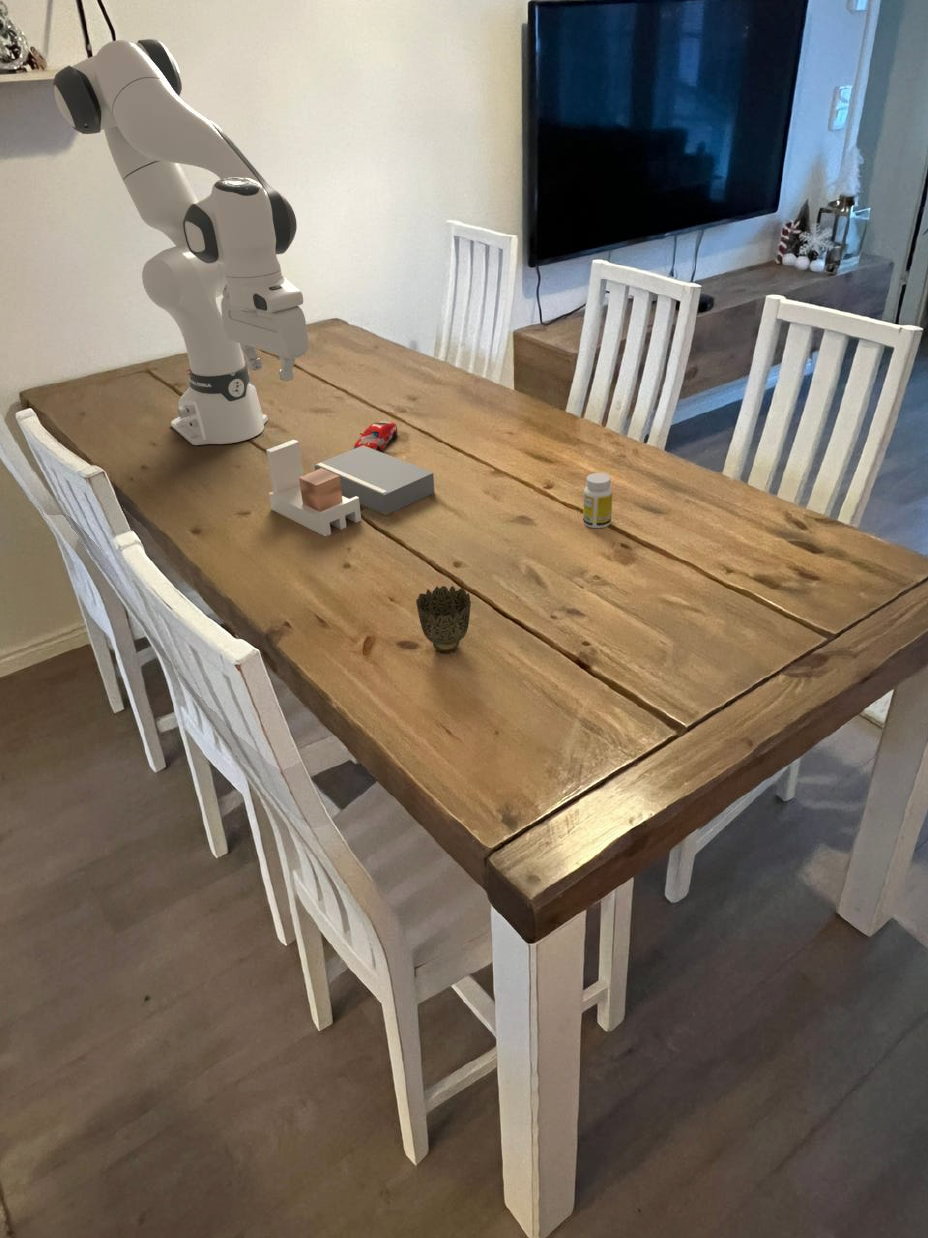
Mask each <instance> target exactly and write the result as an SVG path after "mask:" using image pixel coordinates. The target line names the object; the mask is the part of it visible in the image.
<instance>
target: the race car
mask: <svg viewBox="0 0 928 1238" xmlns="http://www.w3.org/2000/svg"><path fill="white" fill-rule="evenodd" d="M359 435H360V437H359V438H358V439H357V441H356V442H355V443H354V445H353V446H354V447H353V449H355V448H358V447H360V446H363V445H364V446H366V447H369V448H371V449H374V450H377V451H379V452H381V451H383V450H384V449H385V448H386V447H387V446H389V444H390V443H391V442H392V441H394V440H395V439H397V436H398V427H397V424H396V423H395V422H393V421H384V420H383V421H382V420H381V421H377V422H373V423H371V425H369V426H367V428H366V429H365V430H364V432H363V433H362V432H360V434H359Z"/></svg>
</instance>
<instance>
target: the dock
mask: <svg viewBox="0 0 928 1238" xmlns="http://www.w3.org/2000/svg"><path fill="white" fill-rule="evenodd" d="M321 468H323V469H325V470H327V471H329V472H332V473H334V474H336V475H339V476H340V484H341V492H342V496H344V497H346V498H348V499H351V498H353V497H355V496H357V497H359V503H360V505H362V506H364V507H366V508H369V509H371V510H373V511H375V512H376V513H380V514H381V515H384V516H388V515H390V514H392V513H394V512H396V511H398V510H400V509H403V508H405V507H407V506H409V505H411V504H413V503H415V502H419V500H422V499H424V498H426V497H429V496H430V495H433V494H435V478H434V472H432V471H430V470H427V469H425V468H423V467H420V466H417V465H414V464H412V463H409V462H407V461H404V460H401V459H400V458H397V457H394V456H391V455H389V454H386V453H383V452H381V451H380V452H379V451H377V450H374V449H371V448H369V447H366V446H364V445H363V446H360V447H358V448H355V449H354V448H353V449H351V450H348V451H345V452H343V453H340V454H337V455H336V456H333V457H330V458H327V459H326V460H323V461H321V462H318V463H316V464H314V471H316V470H318V469H321Z"/></svg>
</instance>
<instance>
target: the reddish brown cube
mask: <svg viewBox="0 0 928 1238" xmlns="http://www.w3.org/2000/svg"><path fill="white" fill-rule="evenodd" d="M299 483H300V489H301V496H302V502H303V504H305V505H307V506H309V507H311V508H313V509H315V510H317V511H319V512H321V511H323V510H326V509H328V508H330V507H333V506H335V505H337V504H339V503H342V502H343V500H342V492H341V484H340V476H339V475H336V474H334V473H332V472H329V471H327V470H325V469H323V468H321V469H318V470H316V471H315V470H313V471H311V472H309V473H306V474H304V476H301V477H299Z"/></svg>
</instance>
